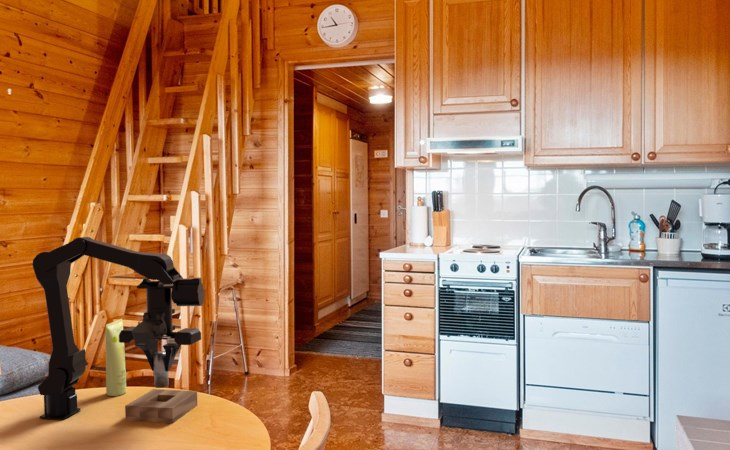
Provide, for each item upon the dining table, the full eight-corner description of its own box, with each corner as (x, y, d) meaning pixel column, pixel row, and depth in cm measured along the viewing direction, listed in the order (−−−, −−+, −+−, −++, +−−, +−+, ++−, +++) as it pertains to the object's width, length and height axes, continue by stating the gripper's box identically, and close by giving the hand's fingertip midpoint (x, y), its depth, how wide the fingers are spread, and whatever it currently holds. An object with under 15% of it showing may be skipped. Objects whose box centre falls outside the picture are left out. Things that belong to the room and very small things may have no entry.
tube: (128, 394, 152) (126, 321, 151) (108, 398, 149) (105, 324, 149) (124, 389, 157) (122, 318, 156) (104, 392, 154) (102, 320, 153)
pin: (152, 387, 137) (150, 354, 137) (159, 383, 140) (157, 351, 140) (164, 387, 136) (162, 354, 136) (171, 383, 140) (169, 351, 139)
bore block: (125, 420, 134) (125, 405, 134) (153, 402, 146) (153, 389, 146) (172, 423, 132) (172, 408, 132) (197, 405, 143) (197, 391, 143)
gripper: (103, 312, 132) (105, 379, 132) (178, 313, 128) (179, 383, 129) (131, 303, 142) (133, 365, 143) (201, 305, 139) (202, 368, 140)
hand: (161, 370), depth 138 cm, fingers closed on pin, 3 cm apart
